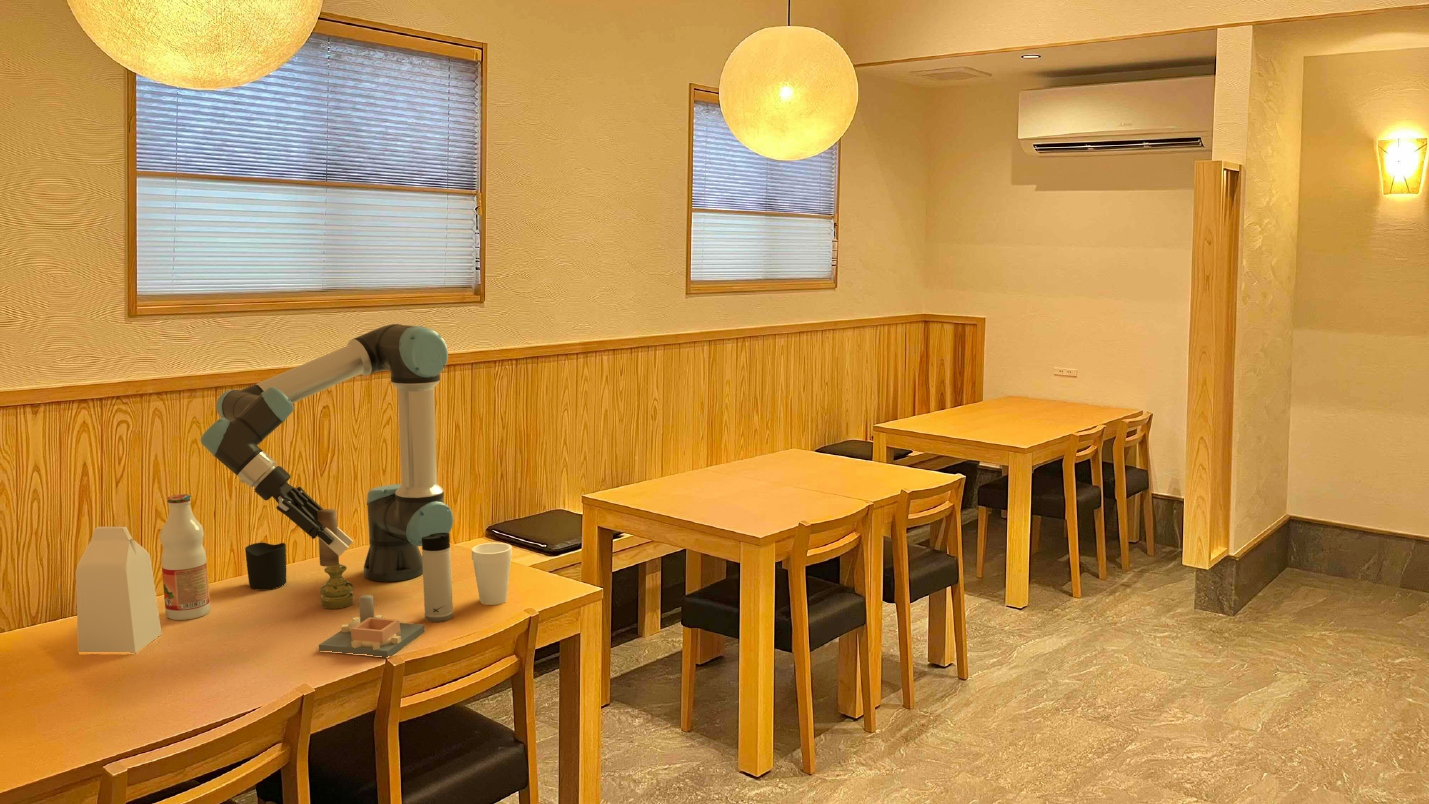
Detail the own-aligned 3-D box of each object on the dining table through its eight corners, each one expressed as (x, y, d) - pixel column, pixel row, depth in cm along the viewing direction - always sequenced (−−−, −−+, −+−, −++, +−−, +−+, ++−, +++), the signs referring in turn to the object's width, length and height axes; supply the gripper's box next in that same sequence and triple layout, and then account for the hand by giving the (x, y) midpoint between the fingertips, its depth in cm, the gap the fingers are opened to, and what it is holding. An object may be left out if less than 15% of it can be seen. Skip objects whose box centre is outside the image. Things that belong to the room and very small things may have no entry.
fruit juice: (199, 621, 259) (190, 501, 254) (158, 621, 259) (148, 501, 254) (217, 607, 268) (208, 491, 264) (177, 607, 268) (168, 491, 264)
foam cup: (518, 594, 276) (516, 543, 274) (507, 607, 267) (505, 554, 265) (480, 593, 277) (478, 542, 275) (468, 606, 268) (466, 553, 266)
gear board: (360, 625, 256) (358, 587, 254) (425, 631, 252) (423, 593, 251) (319, 652, 240) (316, 612, 239) (387, 658, 236) (385, 618, 235)
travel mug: (440, 624, 256) (436, 538, 253) (419, 619, 260) (415, 534, 256) (459, 616, 261) (456, 532, 258) (439, 611, 265) (435, 528, 262)
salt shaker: (359, 604, 270) (357, 563, 268) (330, 612, 265) (328, 570, 263) (343, 597, 275) (341, 557, 273) (315, 604, 270) (312, 564, 268)
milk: (78, 654, 239) (67, 534, 235) (107, 635, 250) (96, 520, 246) (135, 654, 239) (125, 534, 235) (161, 635, 250) (152, 520, 246)
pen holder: (278, 577, 291) (275, 539, 289) (294, 585, 284) (292, 546, 283) (241, 585, 284) (238, 546, 283) (257, 593, 278) (254, 554, 276)
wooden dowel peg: (326, 560, 254) (324, 508, 252) (342, 561, 253) (340, 509, 251) (316, 565, 250) (313, 512, 249) (332, 567, 250) (329, 514, 248)
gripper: (264, 480, 256) (343, 549, 260) (241, 498, 239) (325, 572, 244) (287, 456, 256) (366, 526, 260) (265, 473, 239) (350, 547, 243)
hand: (346, 548), depth 252 cm, fingers closed on wooden dowel peg, 4 cm apart
